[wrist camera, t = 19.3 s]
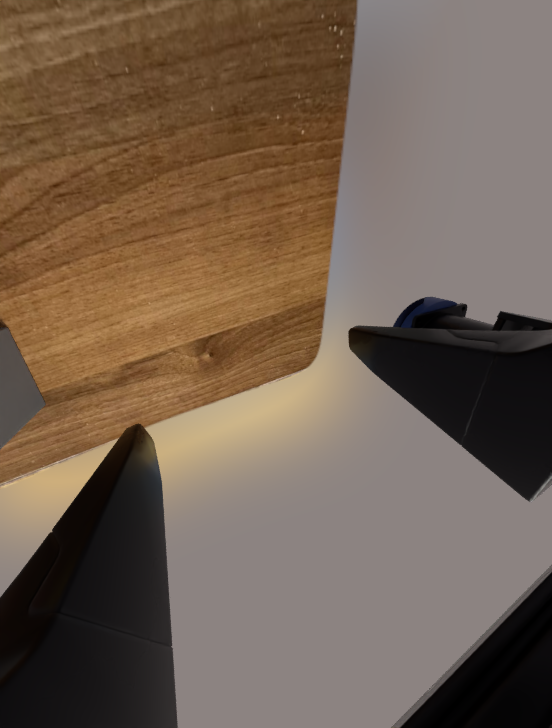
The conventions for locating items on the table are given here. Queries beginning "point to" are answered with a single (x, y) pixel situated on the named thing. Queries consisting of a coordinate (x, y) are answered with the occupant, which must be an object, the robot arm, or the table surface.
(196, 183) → the table surface
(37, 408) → the grey books
